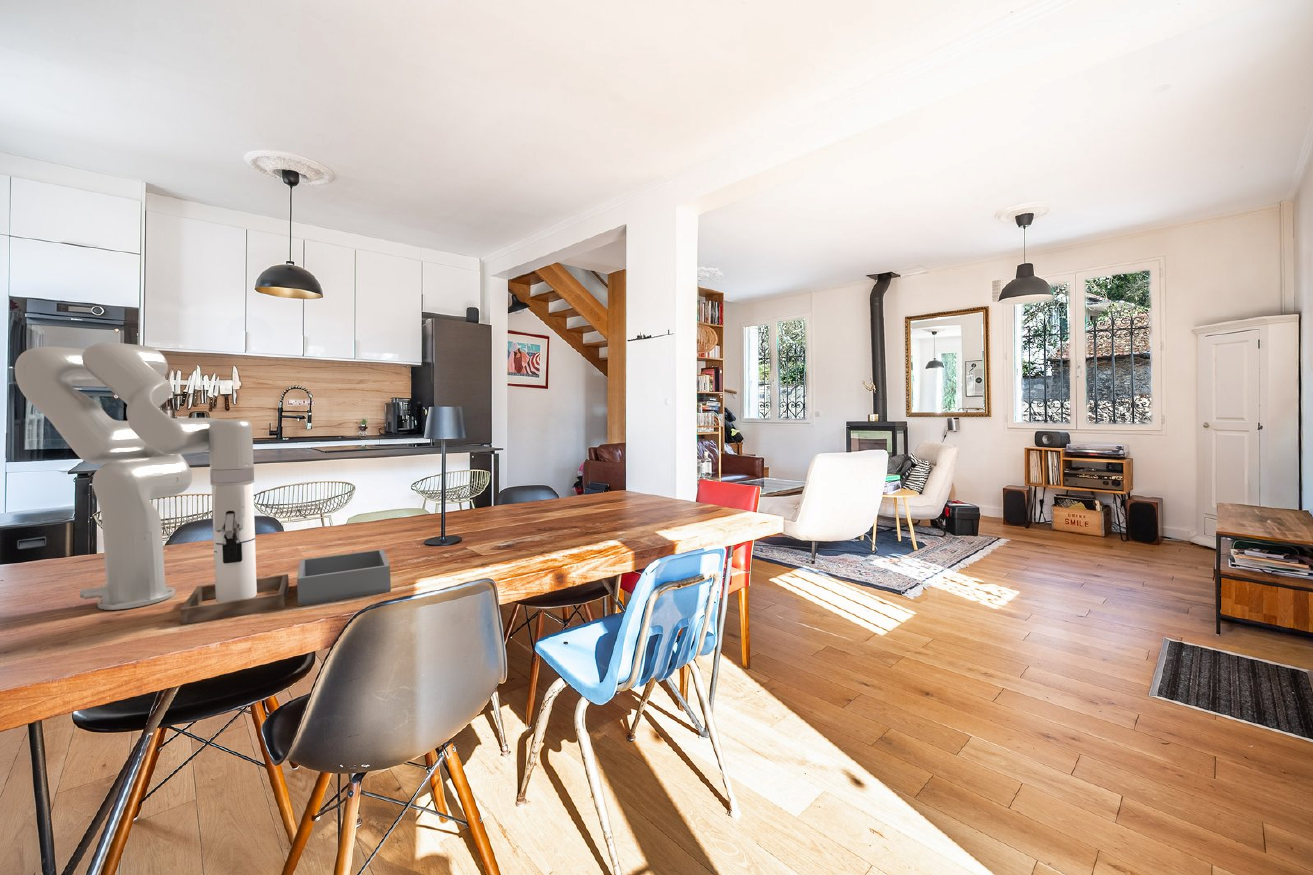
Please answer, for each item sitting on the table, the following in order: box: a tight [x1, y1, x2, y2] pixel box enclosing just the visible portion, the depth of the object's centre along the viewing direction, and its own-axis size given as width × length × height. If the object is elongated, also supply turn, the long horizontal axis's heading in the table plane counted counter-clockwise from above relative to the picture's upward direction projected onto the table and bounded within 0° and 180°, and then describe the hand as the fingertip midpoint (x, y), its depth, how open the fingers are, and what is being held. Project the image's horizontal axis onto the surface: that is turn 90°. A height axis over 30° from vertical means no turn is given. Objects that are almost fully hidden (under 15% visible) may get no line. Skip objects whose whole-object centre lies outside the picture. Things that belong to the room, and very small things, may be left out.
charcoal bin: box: [296, 548, 392, 607], centre depth 132 cm, size 18×18×6 cm
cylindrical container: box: [211, 482, 258, 603], centre depth 121 cm, size 7×7×25 cm
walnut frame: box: [179, 573, 290, 625], centre depth 122 cm, size 17×17×3 cm
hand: (235, 557), depth 121 cm, fingers closed on cylindrical container, 7 cm apart
